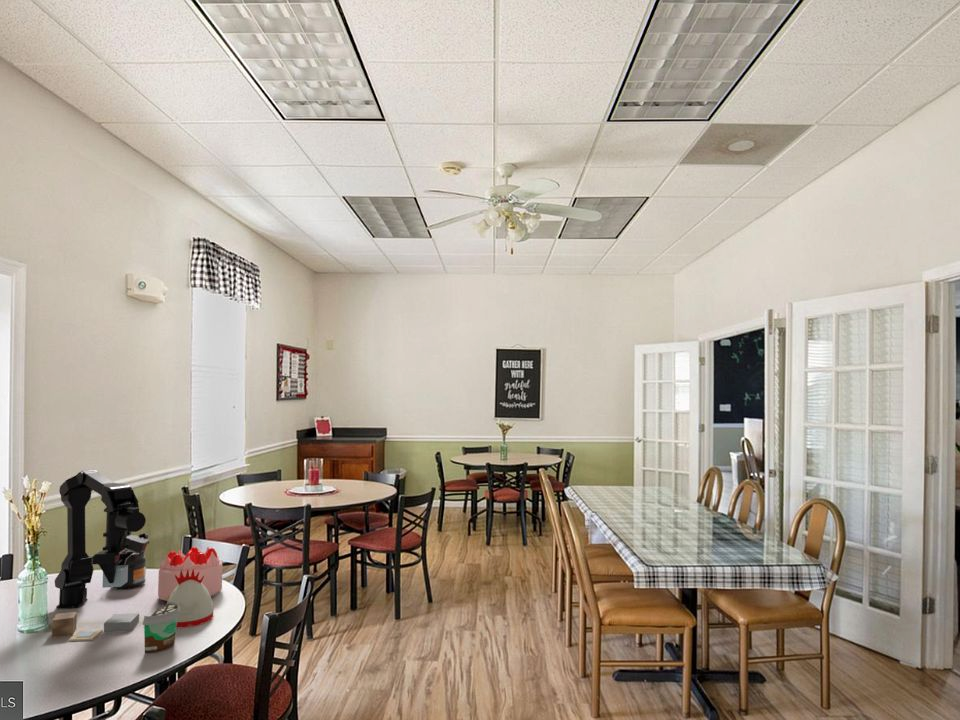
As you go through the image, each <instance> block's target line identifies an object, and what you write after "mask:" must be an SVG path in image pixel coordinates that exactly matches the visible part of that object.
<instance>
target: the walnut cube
mask: <svg viewBox="0 0 960 720" xmlns="http://www.w3.org/2000/svg"><path fill="white" fill-rule="evenodd" d="M51 621H52V623H51V639H56V638H61V637H63V638H64V637H70V636H71V637H73V636H74V635H75V632H76V630H77V623H78V622H77V621H78V612H77V611H71V612H62V613H61V612H60V613H56V614H55V615H54V617H53V619H51ZM55 637H56V638H55Z"/></svg>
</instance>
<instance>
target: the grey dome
mask: <svg viewBox="0 0 960 720" xmlns="http://www.w3.org/2000/svg"><path fill="white" fill-rule="evenodd" d="M198 576H199V572H198V573H197V575H196V576H195V574H194V569H193V570H192V574H191V576H189V570H187V573H186V576H185V577H184V576H183V573H182V570H181V571H180V577H177V575H175V578H176V580H177V582H178V584H179V585H178V586H177V587H176V588H175V589H174V591H173V592H172V593H171V594H170V595H169V596H168V599H169V600H168V601H167V602H175V603H177V604H178V605H179V607H180V612H181V614H180V615H179V616H178V618H177V626H176V629H177V628H191V627H195V626H199V625H202V624H205V623H208V622H209V621H211V620H212V617H213V618H214V604H213V599H212V597H211V596H210V594H209V592H208V590H207V589H206V587H205V586H204V585H203V584H202V583H201V582H202V580H203V578H204V576H203V577H202V578H201V579H200V580H199V579H198Z"/></svg>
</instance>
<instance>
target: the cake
mask: <svg viewBox="0 0 960 720" xmlns="http://www.w3.org/2000/svg"><path fill="white" fill-rule="evenodd" d="M193 569H194V574H195V576H196V575H197V573H198V572H199V576H198V579H199V580H200V579H201V578H202V577H203V576H204V578H203V580H202V582H201V583H202V584H203V585H204V586H205V587H206V589H207V590H208V592H209V594H210V597H211V596H213V595H217V594H218V593H220V592H221V591H222V589H223V562H222V560H220V558H219V556H218V553H217V551H216V549H215V548H213V547H210V548H209V546H207V548H206V551H205V552H204V553H203V552H202V551H200V550H199V549H198V547H196V546H192V547H191V548H190V549H189V551H187V553H186V554H184V553H183V552H182V551H181V549H179V548H178V552H177V553H176V551H175V550H171V551H169V552H168V553H167V554H165V555H164V558H163V560H162V561H161V563H160V564H159V569H158V582H157V585H158V586H157V587H158V588H157V597H158V598H159V600H162V601H166V602H168V600H169V599H168V596H169V595H170V594H171V593H172V592H173V591H174V589H175V588H176V587H177V586H178V585H179V584H178V582H177V580H176V578H175V575H177V577H180V571H181V570H182V573H183V576H184V577H185V576H186V573H187V570H189V576H191V574H192V570H193Z"/></svg>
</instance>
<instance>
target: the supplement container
mask: <svg viewBox="0 0 960 720" xmlns="http://www.w3.org/2000/svg"><path fill="white" fill-rule="evenodd" d="M128 550H129V549H128ZM129 552H134V553H133V554H132V555H131V556H130V557H128V559H127V561H126V564H125V565H128V582H127V583H125V584H124V585H122V586H121V587H112V588H113V589H114V590H120V591H121V590H122V591H127V590H133V589H136V588H140V587H142V586H143V585H144V584H145V583H146V574H147V573H146V571H147V561H148V560H147V558H146V557H145V556H146V549H145V550H144V551H142V552H141V553H136V552H135V551H132V550H129Z"/></svg>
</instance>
